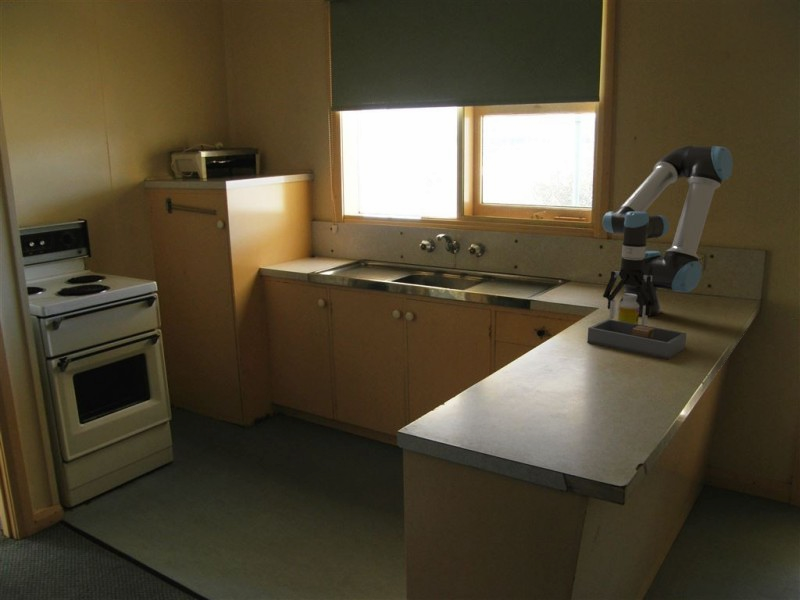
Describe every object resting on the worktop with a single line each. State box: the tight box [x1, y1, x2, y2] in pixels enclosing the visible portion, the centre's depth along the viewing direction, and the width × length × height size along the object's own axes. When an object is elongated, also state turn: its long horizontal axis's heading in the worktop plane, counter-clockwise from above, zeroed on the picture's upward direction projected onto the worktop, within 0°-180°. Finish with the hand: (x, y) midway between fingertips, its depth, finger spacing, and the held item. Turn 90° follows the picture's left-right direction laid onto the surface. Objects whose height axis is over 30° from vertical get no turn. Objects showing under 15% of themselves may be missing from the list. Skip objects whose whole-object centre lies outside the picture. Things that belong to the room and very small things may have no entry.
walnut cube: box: [632, 326, 654, 339], centre depth 222 cm, size 5×5×5 cm
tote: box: [586, 318, 687, 360], centre depth 223 cm, size 15×26×5 cm, turn 49°
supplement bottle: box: [617, 293, 639, 324], centre depth 239 cm, size 7×7×13 cm
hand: (627, 321), depth 240 cm, fingers open, 11 cm apart
